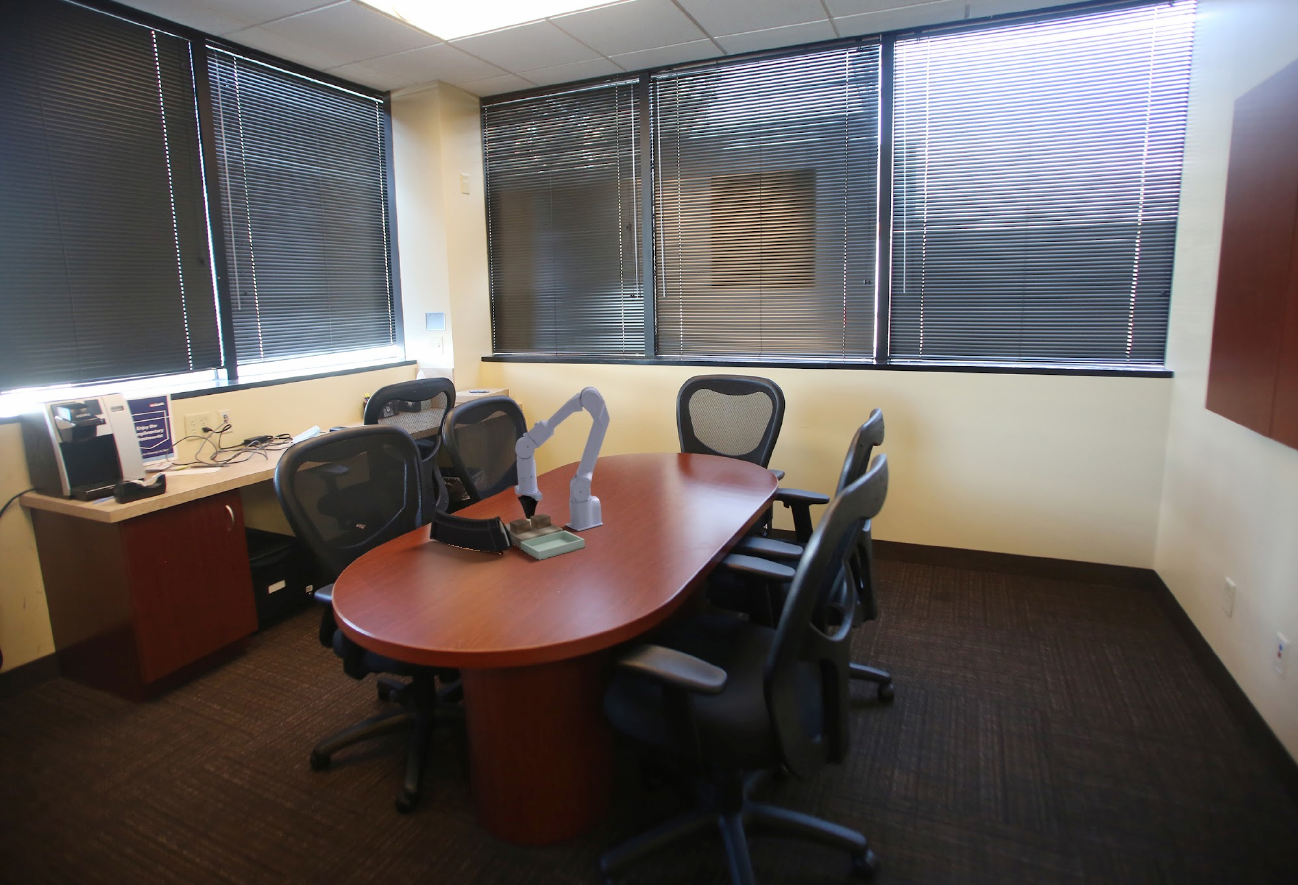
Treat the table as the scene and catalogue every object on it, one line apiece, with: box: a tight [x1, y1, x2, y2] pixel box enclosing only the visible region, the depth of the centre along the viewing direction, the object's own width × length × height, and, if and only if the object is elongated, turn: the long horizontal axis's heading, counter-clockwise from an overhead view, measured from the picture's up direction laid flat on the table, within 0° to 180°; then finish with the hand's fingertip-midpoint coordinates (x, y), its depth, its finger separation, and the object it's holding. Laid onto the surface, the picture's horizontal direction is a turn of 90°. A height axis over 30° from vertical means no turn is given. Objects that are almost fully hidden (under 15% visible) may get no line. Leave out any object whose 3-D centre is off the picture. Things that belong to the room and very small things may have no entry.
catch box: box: [520, 530, 586, 561], centre depth 205 cm, size 15×11×2 cm
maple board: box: [505, 518, 564, 549], centre depth 216 cm, size 14×16×3 cm
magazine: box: [429, 508, 515, 554], centre depth 208 cm, size 17×3×30 cm
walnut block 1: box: [509, 517, 531, 535], centre depth 213 cm, size 4×4×3 cm
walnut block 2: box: [530, 513, 552, 529], centre depth 217 cm, size 4×4×3 cm
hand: (530, 518), depth 223 cm, fingers closed
